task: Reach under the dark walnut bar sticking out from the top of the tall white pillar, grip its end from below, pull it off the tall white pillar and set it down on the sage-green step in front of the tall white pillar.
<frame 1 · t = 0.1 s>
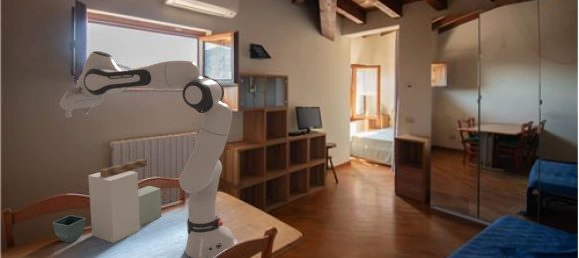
hand: (76, 115, 150), 54 cm above the table, tool tilted 30°, fingers open, 8 cm apart
walnut bar: (124, 170, 163), point 28 cm above the table, touching tall white pillar
flower pot: (70, 239, 155), on the table
step: (143, 220, 177), on the table
tall white pillar: (116, 232, 163), on the table
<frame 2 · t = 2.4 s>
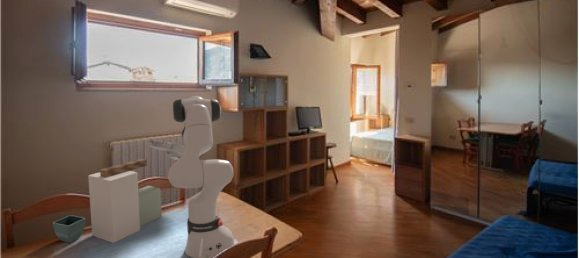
hand: (156, 141, 179), 38 cm above the table, tool pointing upward, fingers open, 8 cm apart
nothing on the table moved.
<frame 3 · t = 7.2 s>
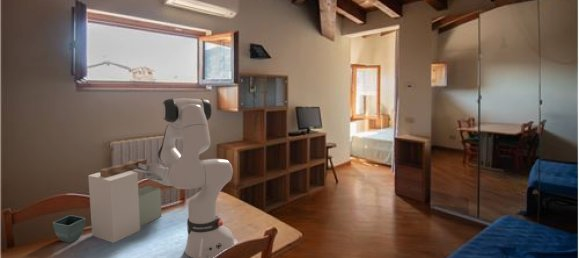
hand: (134, 163, 168), 30 cm above the table, tool pointing upward, fingers closed on walnut bar, 3 cm apart
walnut bar: (124, 170, 163), point 28 cm above the table, touching gripper, tall white pillar
everything else where it was.
when the fingers open (19 cm above the table, at t = 14.9 s): walnut bar drops 2 cm, resting on step.
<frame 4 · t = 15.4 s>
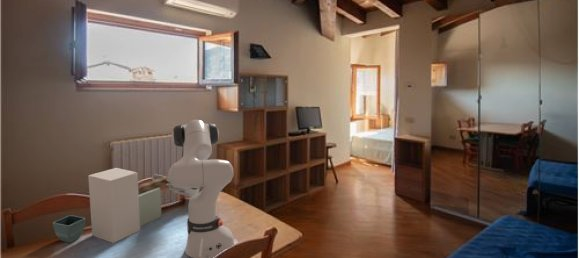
hand: (159, 177, 183), 19 cm above the table, tool pointing upward, fingers open, 8 cm apart
walnut bar: (152, 187, 179), point 15 cm above the table, touching step
everything else where it was.
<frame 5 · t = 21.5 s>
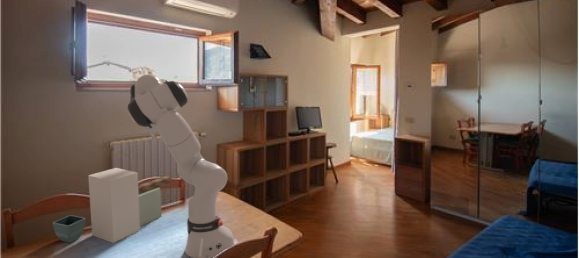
hand: (161, 138, 183), 39 cm above the table, tool pointing down, fingers open, 8 cm apart
nothing on the table moved.
at the end: walnut bar inside the target area on the step (1.8 cm from its centre), point 15.0 cm above the step's base; walnut bar touching step; walnut bar tilted 0° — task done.
